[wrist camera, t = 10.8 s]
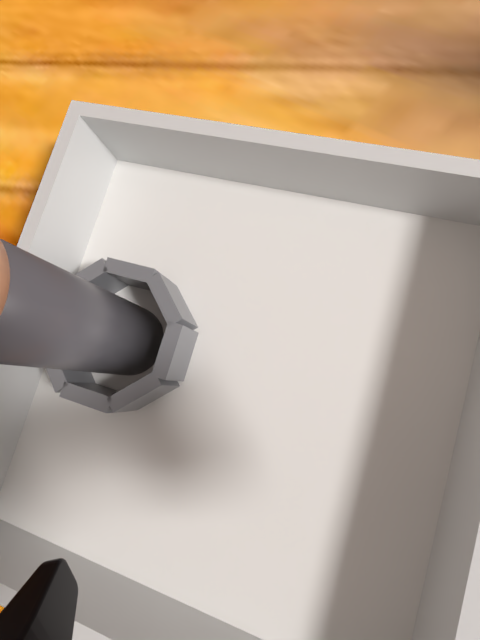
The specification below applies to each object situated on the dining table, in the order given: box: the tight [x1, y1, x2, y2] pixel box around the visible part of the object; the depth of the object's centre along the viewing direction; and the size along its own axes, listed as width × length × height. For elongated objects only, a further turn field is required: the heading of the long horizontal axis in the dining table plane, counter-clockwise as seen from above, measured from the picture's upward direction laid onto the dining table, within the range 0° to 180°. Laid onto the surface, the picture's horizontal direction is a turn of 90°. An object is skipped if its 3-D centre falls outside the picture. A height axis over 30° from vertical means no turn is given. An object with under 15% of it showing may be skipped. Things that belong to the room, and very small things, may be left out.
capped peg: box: [0, 239, 164, 376], centre depth 16 cm, size 4×4×13 cm
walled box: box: [0, 100, 480, 640], centre depth 20 cm, size 24×24×5 cm
